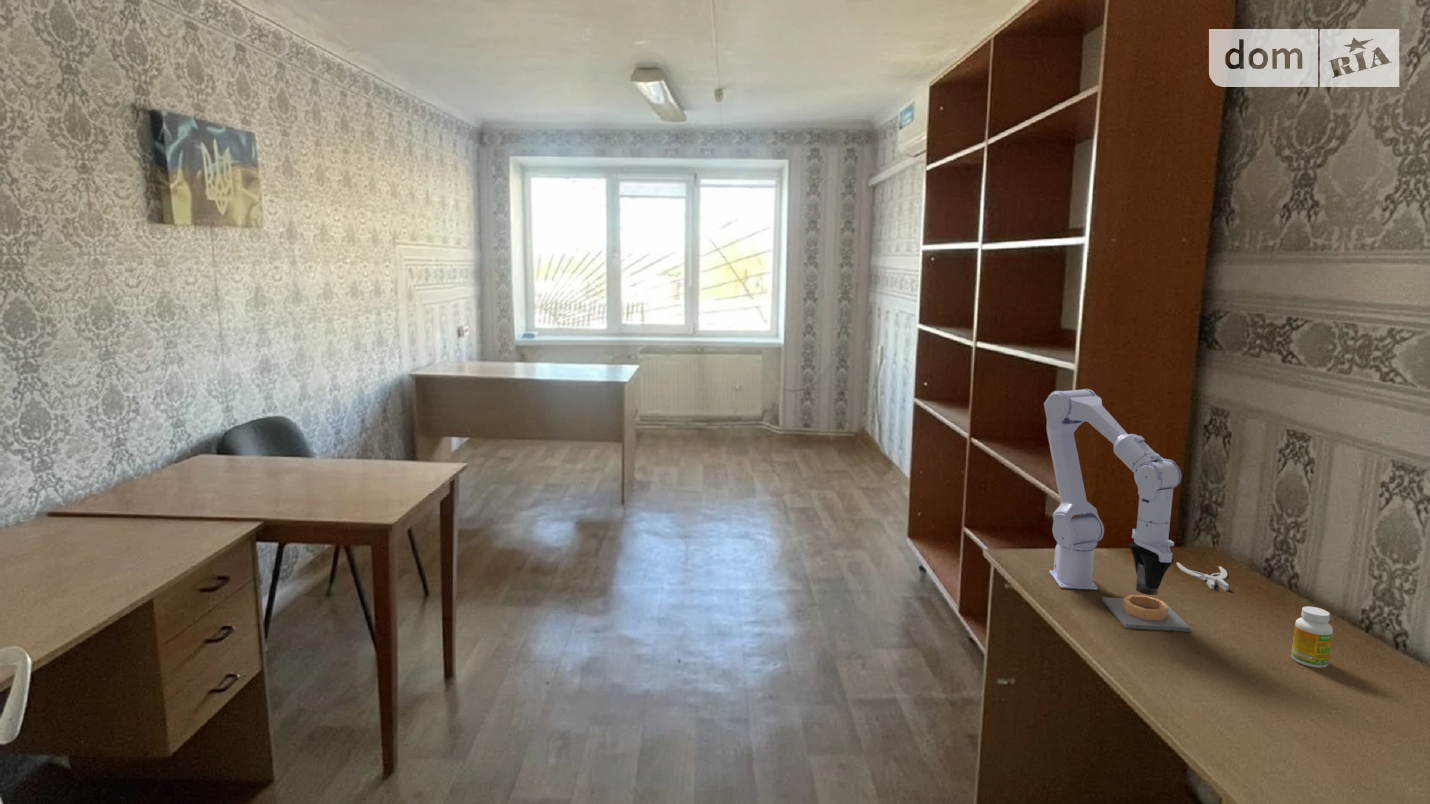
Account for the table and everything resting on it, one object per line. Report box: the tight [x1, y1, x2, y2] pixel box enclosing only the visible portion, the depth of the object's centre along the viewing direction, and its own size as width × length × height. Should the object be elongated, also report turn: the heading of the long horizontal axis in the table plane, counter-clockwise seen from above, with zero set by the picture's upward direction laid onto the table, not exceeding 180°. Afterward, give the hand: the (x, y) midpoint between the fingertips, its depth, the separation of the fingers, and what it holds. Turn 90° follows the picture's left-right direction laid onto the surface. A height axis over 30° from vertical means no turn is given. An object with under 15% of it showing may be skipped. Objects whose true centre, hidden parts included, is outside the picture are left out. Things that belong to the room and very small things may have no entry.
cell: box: [1135, 562, 1159, 596], centre depth 157 cm, size 4×4×6 cm
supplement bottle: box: [1290, 606, 1334, 669], centre depth 139 cm, size 5×5×10 cm
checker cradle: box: [1102, 594, 1192, 633], centre depth 158 cm, size 13×12×3 cm
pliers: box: [1176, 562, 1230, 592], centre depth 178 cm, size 10×2×15 cm
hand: (1147, 583), depth 157 cm, fingers closed on cell, 4 cm apart
